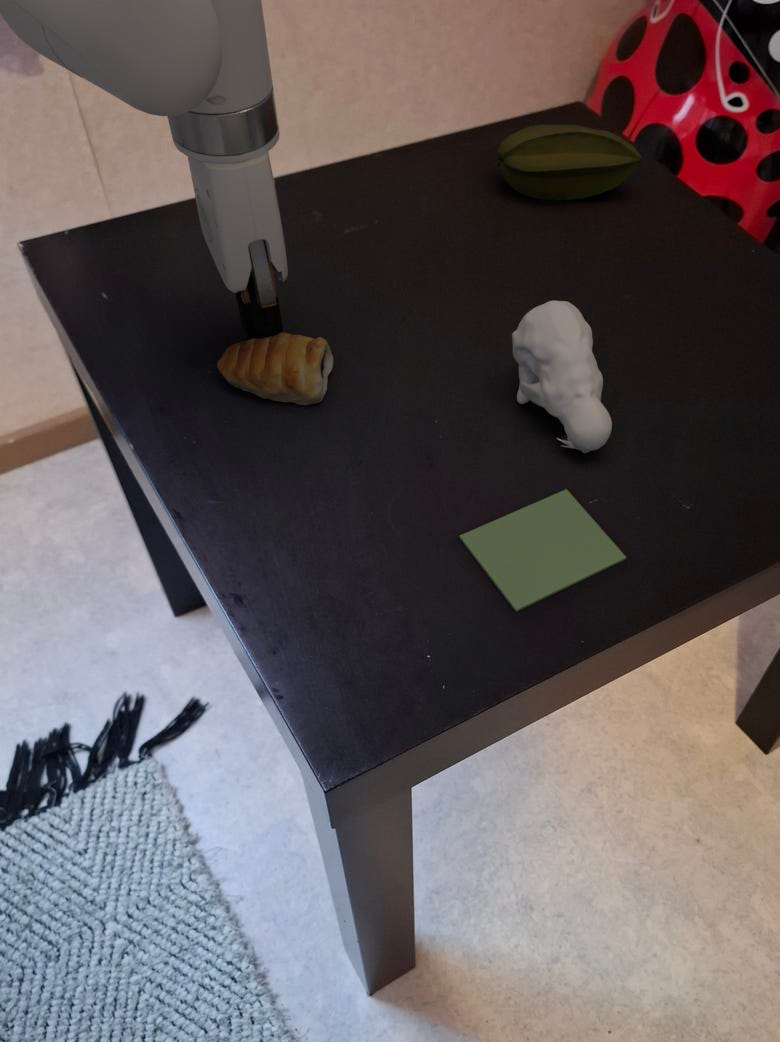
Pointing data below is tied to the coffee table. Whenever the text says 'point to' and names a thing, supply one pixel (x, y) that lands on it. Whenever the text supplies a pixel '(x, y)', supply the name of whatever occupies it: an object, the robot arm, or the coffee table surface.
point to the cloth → (541, 549)
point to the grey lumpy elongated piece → (562, 372)
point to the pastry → (280, 367)
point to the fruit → (565, 161)
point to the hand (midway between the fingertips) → (263, 330)
